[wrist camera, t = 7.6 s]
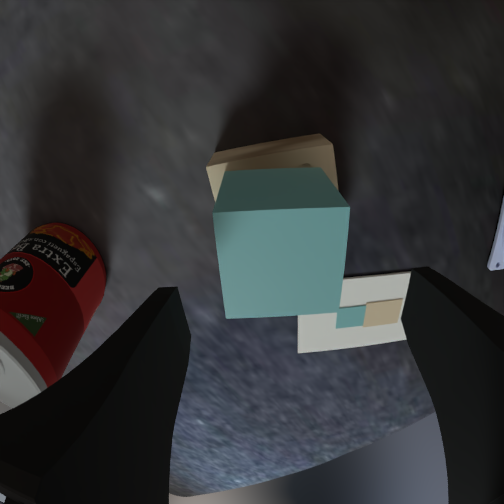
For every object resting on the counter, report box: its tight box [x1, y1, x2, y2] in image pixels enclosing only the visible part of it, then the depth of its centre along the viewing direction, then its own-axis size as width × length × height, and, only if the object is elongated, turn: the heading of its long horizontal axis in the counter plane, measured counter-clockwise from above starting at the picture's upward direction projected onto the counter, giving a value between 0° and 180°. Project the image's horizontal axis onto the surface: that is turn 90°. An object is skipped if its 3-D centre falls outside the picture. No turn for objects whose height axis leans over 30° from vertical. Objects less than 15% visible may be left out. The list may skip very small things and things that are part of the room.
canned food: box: [0, 223, 106, 408], centre depth 17 cm, size 8×8×11 cm
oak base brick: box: [206, 134, 338, 202], centre depth 17 cm, size 6×6×4 cm
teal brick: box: [213, 167, 350, 319], centre depth 14 cm, size 4×4×5 cm
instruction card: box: [298, 271, 411, 353], centre depth 23 cm, size 10×7×1 cm
